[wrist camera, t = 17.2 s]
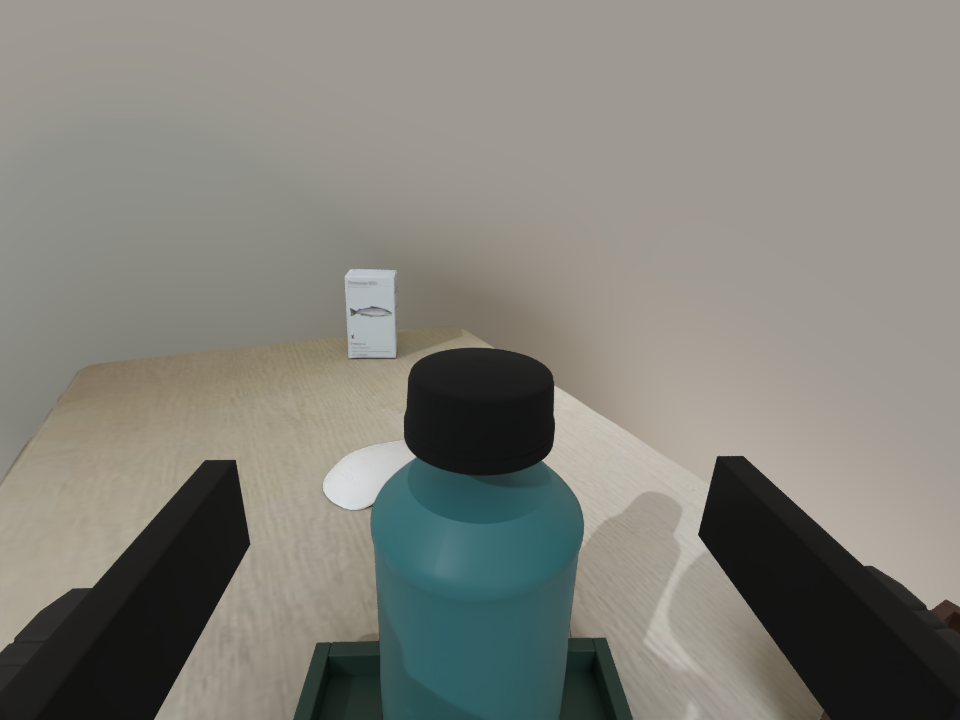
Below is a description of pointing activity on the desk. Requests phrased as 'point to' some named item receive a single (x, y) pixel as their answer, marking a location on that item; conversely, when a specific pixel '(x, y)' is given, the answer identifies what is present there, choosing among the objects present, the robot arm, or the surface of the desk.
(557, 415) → the desk surface
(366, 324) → the white packaging box
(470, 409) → the beverage bottle
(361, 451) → the computer mouse
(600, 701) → the tray
